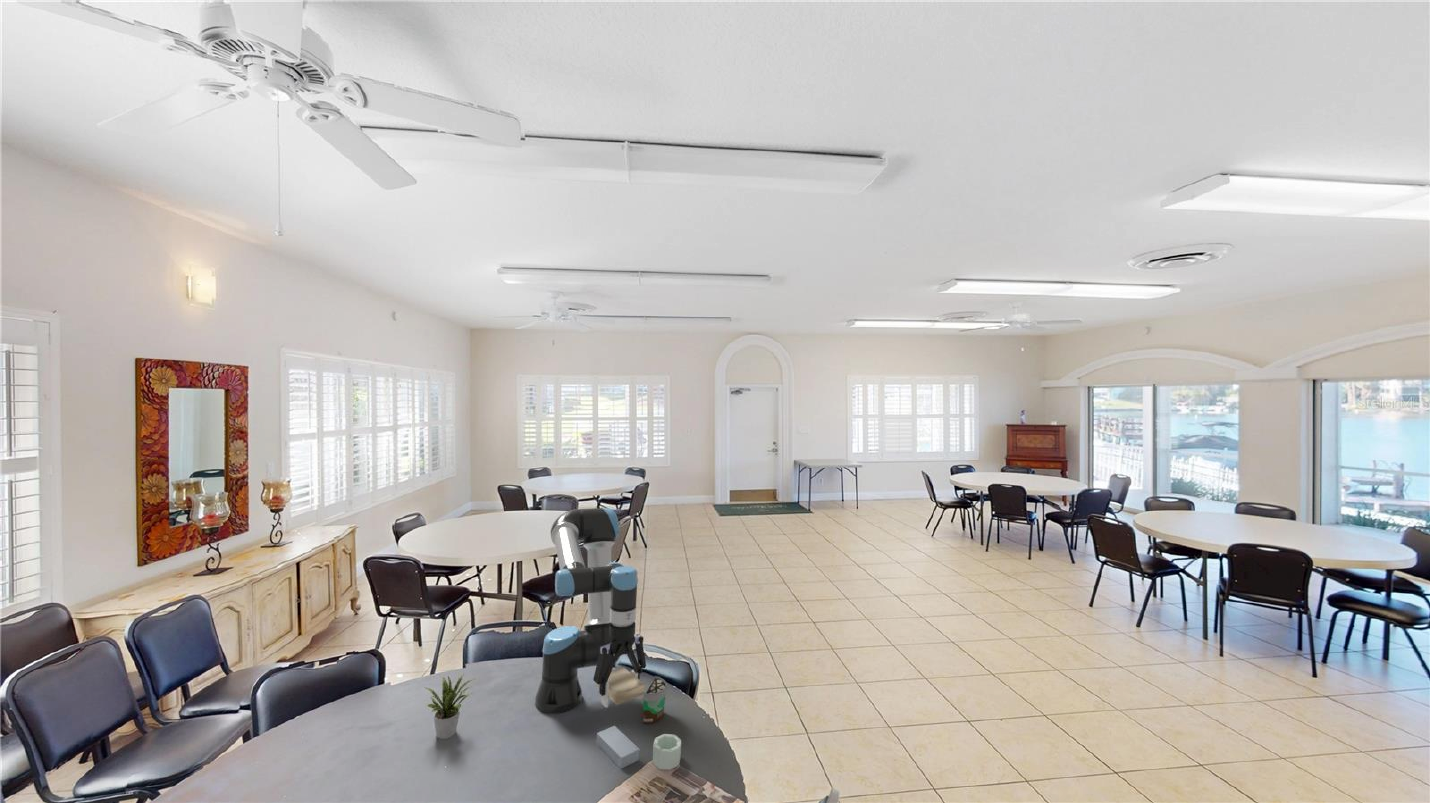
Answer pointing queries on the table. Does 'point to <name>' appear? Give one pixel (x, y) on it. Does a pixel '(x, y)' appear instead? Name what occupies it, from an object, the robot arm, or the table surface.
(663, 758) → the cup
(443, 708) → the house plant
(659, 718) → the food container
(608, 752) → the light gray rectangular block
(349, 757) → the table surface
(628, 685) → the gold metallic plate
